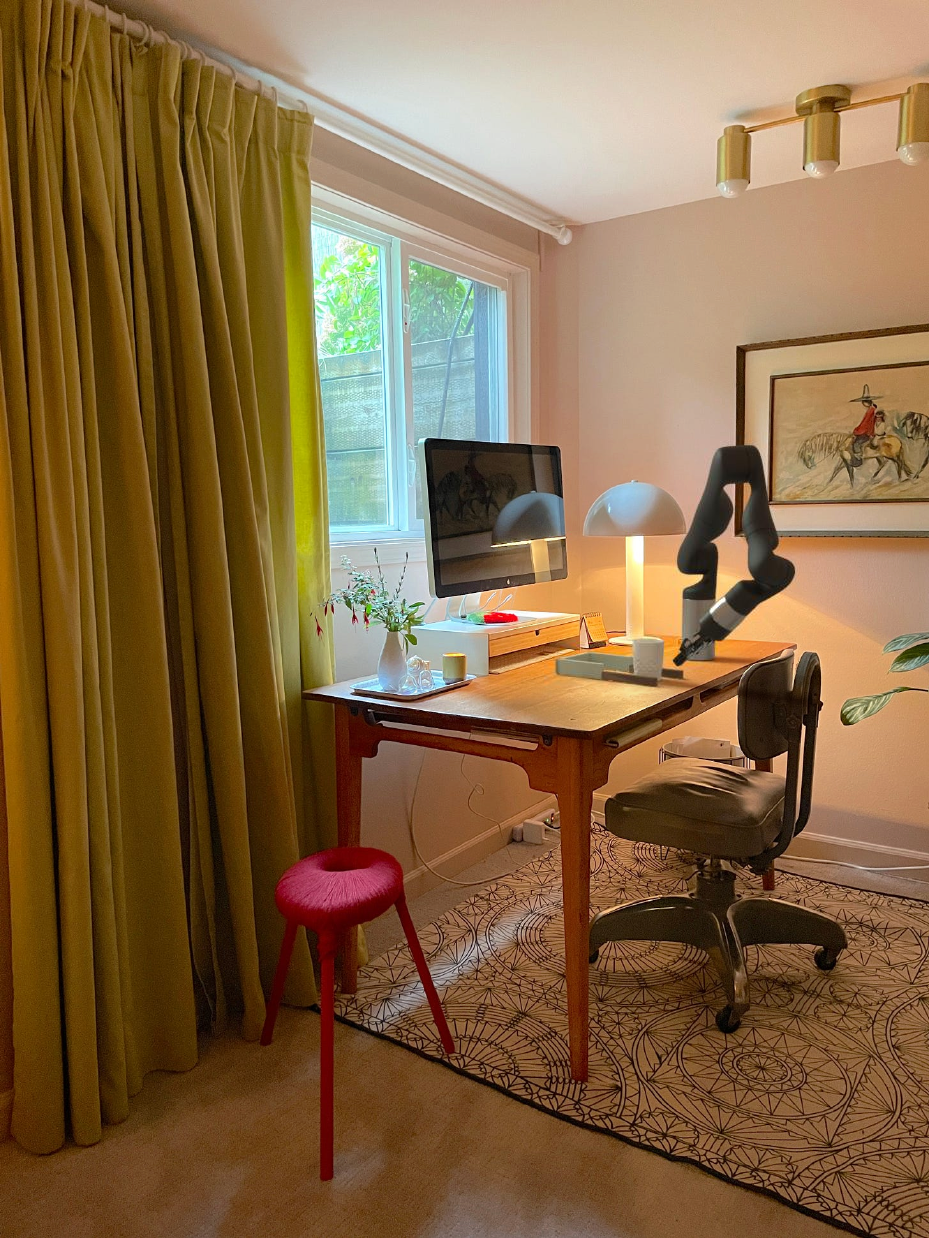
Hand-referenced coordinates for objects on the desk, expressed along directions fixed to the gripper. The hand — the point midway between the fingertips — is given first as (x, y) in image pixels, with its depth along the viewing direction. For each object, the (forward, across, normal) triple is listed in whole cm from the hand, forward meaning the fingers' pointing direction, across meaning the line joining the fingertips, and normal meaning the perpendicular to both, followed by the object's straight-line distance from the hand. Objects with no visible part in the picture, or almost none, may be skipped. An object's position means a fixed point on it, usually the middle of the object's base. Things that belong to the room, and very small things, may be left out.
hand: (676, 663), depth 232 cm
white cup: (+9, 0, -2) cm, 9 cm away
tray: (+20, 0, -13) cm, 24 cm away
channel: (+10, 0, -3) cm, 11 cm away
